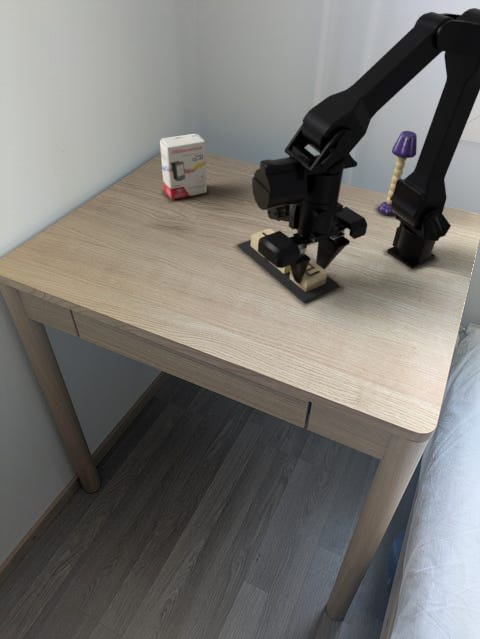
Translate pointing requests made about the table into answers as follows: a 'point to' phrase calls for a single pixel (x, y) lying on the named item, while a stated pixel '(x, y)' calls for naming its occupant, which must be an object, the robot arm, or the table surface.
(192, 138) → the ink box
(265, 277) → the table surface
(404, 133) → the toy lamp
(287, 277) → the near word mat
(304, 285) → the tile
